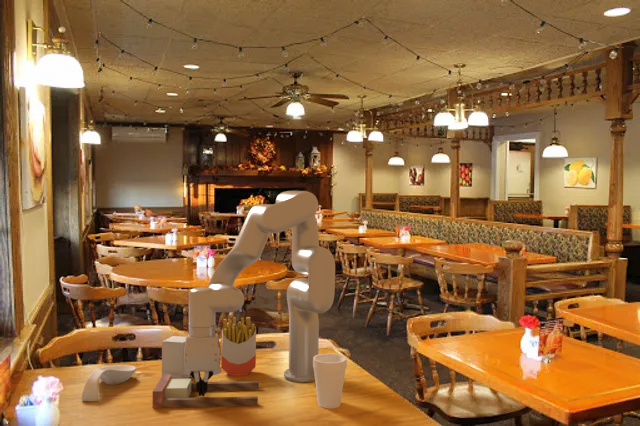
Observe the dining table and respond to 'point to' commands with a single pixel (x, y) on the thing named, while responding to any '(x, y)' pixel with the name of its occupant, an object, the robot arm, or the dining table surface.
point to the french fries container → (238, 347)
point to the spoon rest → (106, 379)
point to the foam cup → (329, 378)
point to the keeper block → (178, 388)
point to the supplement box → (173, 357)
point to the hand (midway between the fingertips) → (202, 394)
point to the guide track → (163, 402)
